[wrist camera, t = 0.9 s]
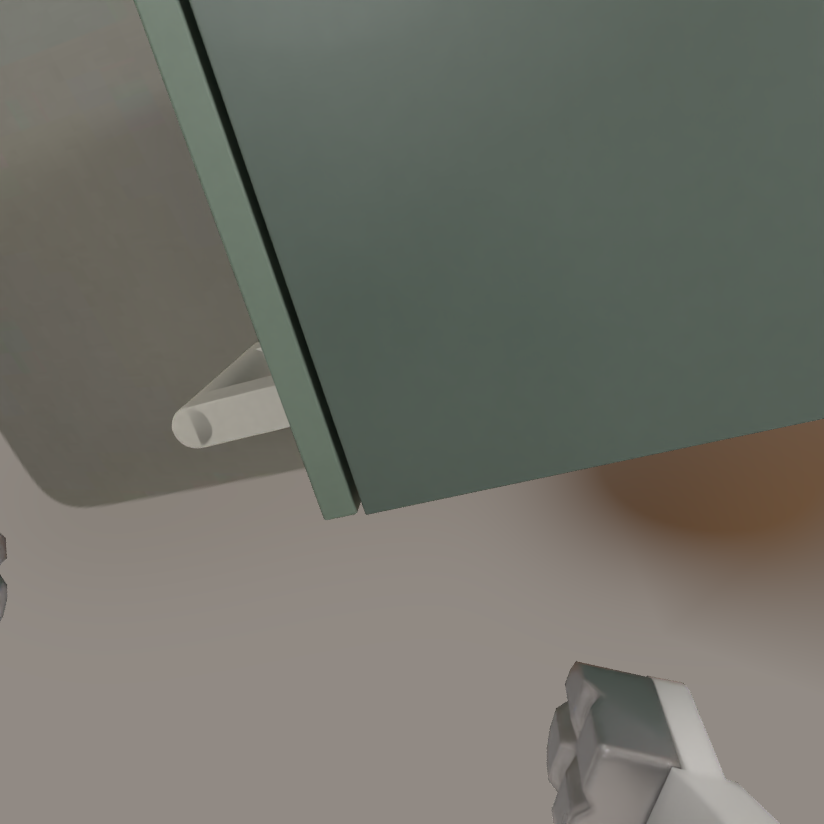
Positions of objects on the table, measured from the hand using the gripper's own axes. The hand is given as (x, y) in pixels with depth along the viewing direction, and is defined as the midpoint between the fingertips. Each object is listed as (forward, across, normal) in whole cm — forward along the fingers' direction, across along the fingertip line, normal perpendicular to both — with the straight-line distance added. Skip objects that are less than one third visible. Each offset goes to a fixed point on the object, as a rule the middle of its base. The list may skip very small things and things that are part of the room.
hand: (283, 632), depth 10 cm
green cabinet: (+29, +3, +7) cm, 30 cm away
